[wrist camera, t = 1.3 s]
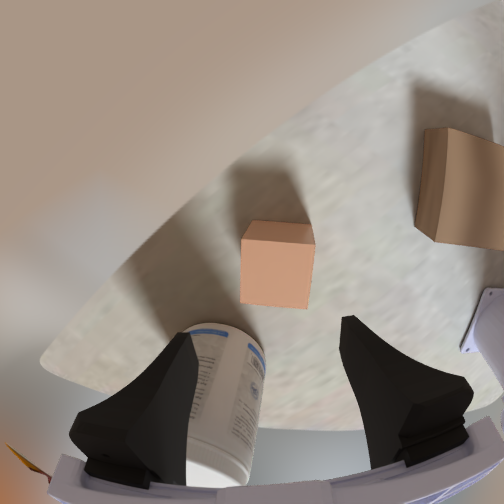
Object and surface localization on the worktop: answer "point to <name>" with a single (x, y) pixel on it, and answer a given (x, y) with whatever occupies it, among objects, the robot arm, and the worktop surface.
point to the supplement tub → (224, 406)
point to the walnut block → (461, 190)
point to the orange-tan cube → (277, 264)
